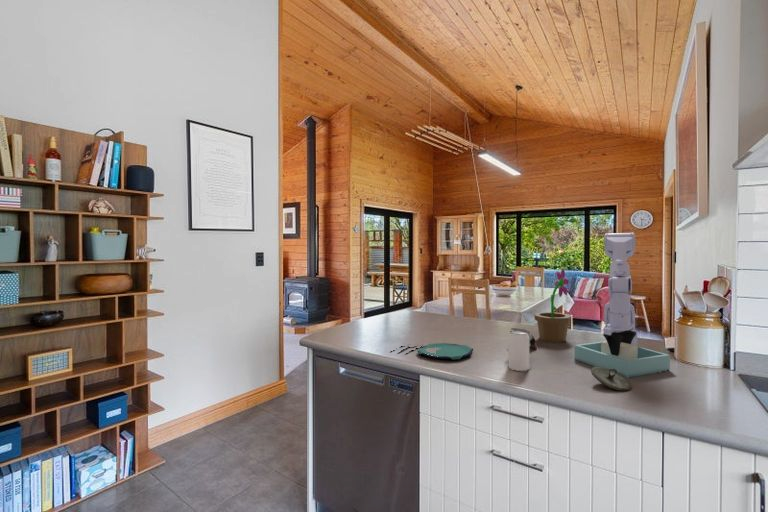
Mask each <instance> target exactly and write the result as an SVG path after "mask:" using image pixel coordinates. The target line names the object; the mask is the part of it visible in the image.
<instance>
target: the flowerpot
mask: <svg viewBox="0 0 768 512" xmlns="http://www.w3.org/2000/svg"><path fill="white" fill-rule="evenodd" d="M565 275H566V271H565V268H561V271H559V270H557V271H556V278H557V279H558V281H556V282H555V283H554V285H555V287H554V289H553V291H552V294H551V295H550V307H551V308H550V311H543V312H541V311H540V312H536V313H534V314H533V315H534V317H533V318H534V321H536V322H537V323H536V324H537V329H538V337H539V339H540V340H541V341H543V342H548V343H564V342H566V341H567V335H568V328H569V327H568V326H569V323H571V322H572V315H570V314H567V313H563V312H554V311H556V310H557V308H556V306H555V305H554V302H555V295H556V292H557V289H558V296H559V297H560V298H562V295H563V294H564V295H565V296H567V295H568V289H567V287H566V286H565V285H568V284H569V283H570V282H569V281H570V279H569V278H565Z"/></svg>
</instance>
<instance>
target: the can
mask: <svg viewBox="0 0 768 512" xmlns="http://www.w3.org/2000/svg"><path fill="white" fill-rule="evenodd" d="M507 343H508V344H507V345H508V346H507V347H508V349H507V352H508V355H507V356H508V358H507V359H508V360H507V362H508V368H509V369H510V368H511V369H513V370H512V371H514V370H518V371H517V372H527V371H529V370H530V347H529V336H528V332H526V331H521V330H512V331H511V330H510V331H509V334H508V339H507ZM511 369H510V370H511ZM526 370H527V371H526Z"/></svg>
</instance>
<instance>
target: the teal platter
mask: <svg viewBox="0 0 768 512" xmlns="http://www.w3.org/2000/svg"><path fill="white" fill-rule="evenodd" d="M435 347H436V348H437V347H438V348H441V349H439V350H436V354H435V353H430V352H427V351H426V350H425V349H427V348H435ZM473 350H474V348H472V347H471V346H470V345H466V344H458V343H457V344H456V343H447V342H438V343H429V344H426V345H423V347H421V348H418V349H417V350H416V351H417V352H418V353H419V354H420V355H423V356H426V357H429V358H436V359H437V358H438V359H451V360H453V361H454V360H461V358H465V357H468V356H469V355H471V354H472V353H473ZM418 353H417V354H418ZM425 353H426V354H425ZM427 354H429V355H427ZM431 355H433V356H431ZM437 356H438V357H437Z"/></svg>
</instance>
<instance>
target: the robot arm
mask: <svg viewBox="0 0 768 512" xmlns="http://www.w3.org/2000/svg"><path fill="white" fill-rule="evenodd" d="M603 239H604V241H603V242H604V243H603V244H604V245H603V247H604V253H605V256H606V257H609V258H610V259H611V261H612V262H611V263H610V264H609V278H608V288H607V289H608V293H609V294H608V295H609V301H608V302H607V303H605V305H604V309H603V310H604V311H603V324H604V325H605V326H606V327H604V328H603V333H602V334H603V337H604V339H605V341H607V342H608V345H609V348H610V352H611V355H616V356H618V355H619V351H620V344H621V342H623V343H627V344H632V345H637V346H638V332H637V330H636V311H635V307H634V305H633V304H632V303H631V295H632V292H633V281H632V277H631V273H630V271H631V269H630V264H629V263H628V261H627V260H628V258H631V257H632V256H634V254H635V248H636V234H635V233H634V232H633V231H631V232H617V233H615V232H613V233H609V232H606V233H605V234H604V237H603Z"/></svg>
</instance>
